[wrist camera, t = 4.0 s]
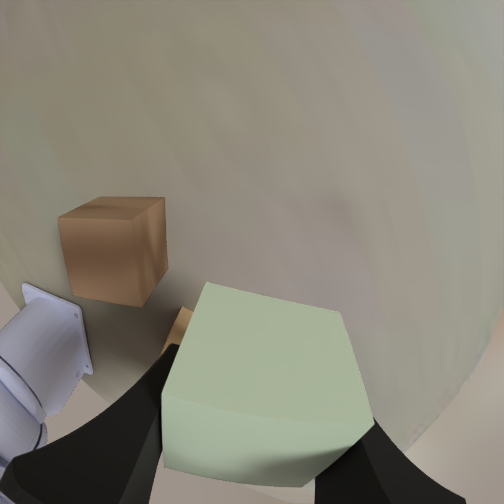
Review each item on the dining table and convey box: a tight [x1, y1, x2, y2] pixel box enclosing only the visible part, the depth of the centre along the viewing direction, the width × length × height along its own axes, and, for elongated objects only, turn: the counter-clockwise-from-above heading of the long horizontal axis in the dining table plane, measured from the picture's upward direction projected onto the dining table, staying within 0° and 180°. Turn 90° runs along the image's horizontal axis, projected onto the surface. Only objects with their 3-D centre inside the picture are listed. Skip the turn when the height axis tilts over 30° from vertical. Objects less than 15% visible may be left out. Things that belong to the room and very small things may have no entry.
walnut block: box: [58, 197, 168, 308], centre depth 16 cm, size 5×5×5 cm
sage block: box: [162, 282, 375, 487], centre depth 8 cm, size 5×5×5 cm
